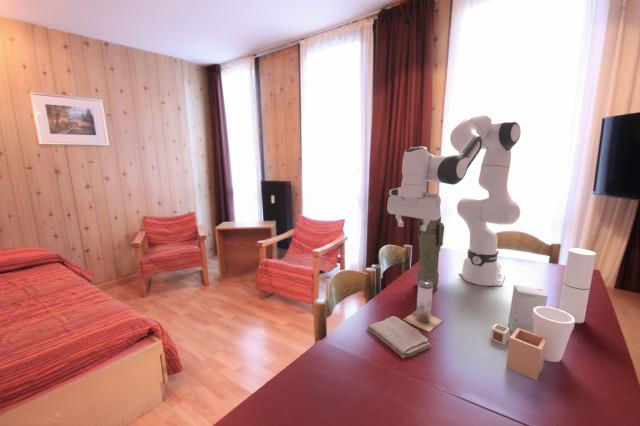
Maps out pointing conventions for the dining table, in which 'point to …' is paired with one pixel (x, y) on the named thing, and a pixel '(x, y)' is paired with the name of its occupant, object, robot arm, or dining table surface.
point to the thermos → (430, 251)
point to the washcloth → (400, 336)
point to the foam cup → (553, 330)
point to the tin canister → (424, 301)
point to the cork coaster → (425, 326)
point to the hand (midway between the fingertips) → (411, 228)
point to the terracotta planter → (526, 353)
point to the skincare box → (525, 307)
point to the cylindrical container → (577, 283)
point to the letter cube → (500, 333)
